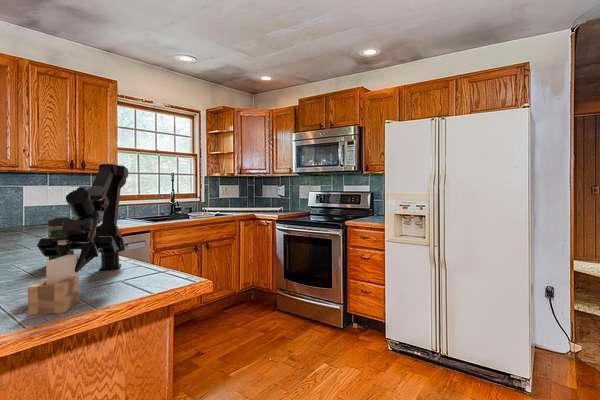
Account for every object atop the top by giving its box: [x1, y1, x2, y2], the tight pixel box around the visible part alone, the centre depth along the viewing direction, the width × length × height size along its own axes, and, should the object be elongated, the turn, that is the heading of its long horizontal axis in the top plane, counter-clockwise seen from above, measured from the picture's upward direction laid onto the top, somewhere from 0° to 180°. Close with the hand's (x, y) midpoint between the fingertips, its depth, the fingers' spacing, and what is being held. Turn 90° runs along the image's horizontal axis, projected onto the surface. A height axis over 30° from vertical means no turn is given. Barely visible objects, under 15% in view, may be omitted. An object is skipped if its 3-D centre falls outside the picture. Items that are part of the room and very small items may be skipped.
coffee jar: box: [47, 215, 75, 261], centre depth 131 cm, size 10×8×19 cm
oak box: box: [27, 275, 80, 316], centre depth 85 cm, size 8×7×6 cm
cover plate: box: [45, 253, 79, 285], centre depth 89 cm, size 12×2×11 cm, turn 12°
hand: (70, 271), depth 93 cm, fingers closed on cover plate, 2 cm apart
